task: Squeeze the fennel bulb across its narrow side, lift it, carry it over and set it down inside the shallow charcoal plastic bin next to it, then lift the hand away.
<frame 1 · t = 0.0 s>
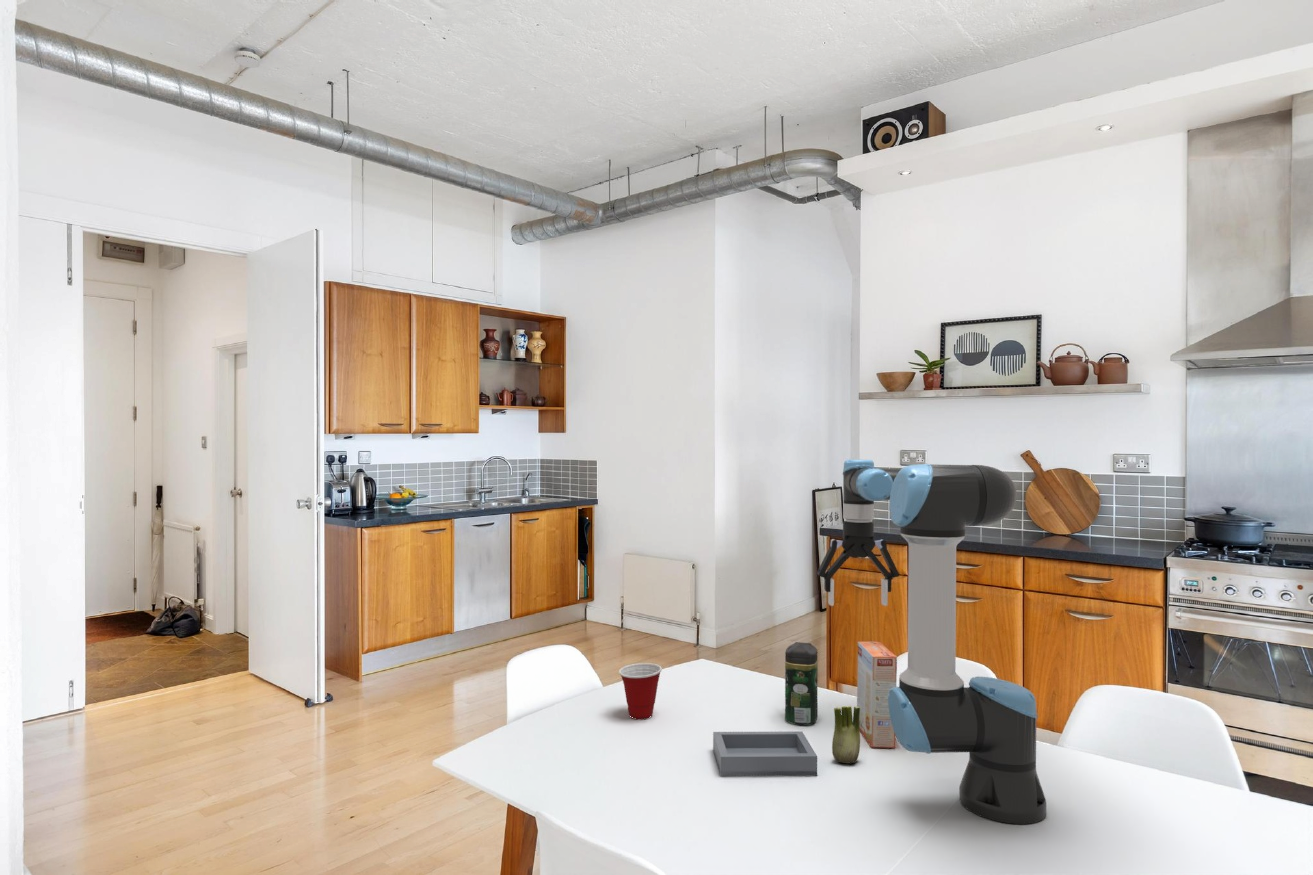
hand: (857, 605, 199), 28 cm above the table, tool pointing down, fingers open, 13 cm apart
bin: (763, 762, 169), on the table
plastic cup: (639, 716, 197), on the table
coffee jar: (800, 720, 196), on the table
cracker box: (875, 738, 184), on the table
fennel bulb: (846, 763, 170), on the table
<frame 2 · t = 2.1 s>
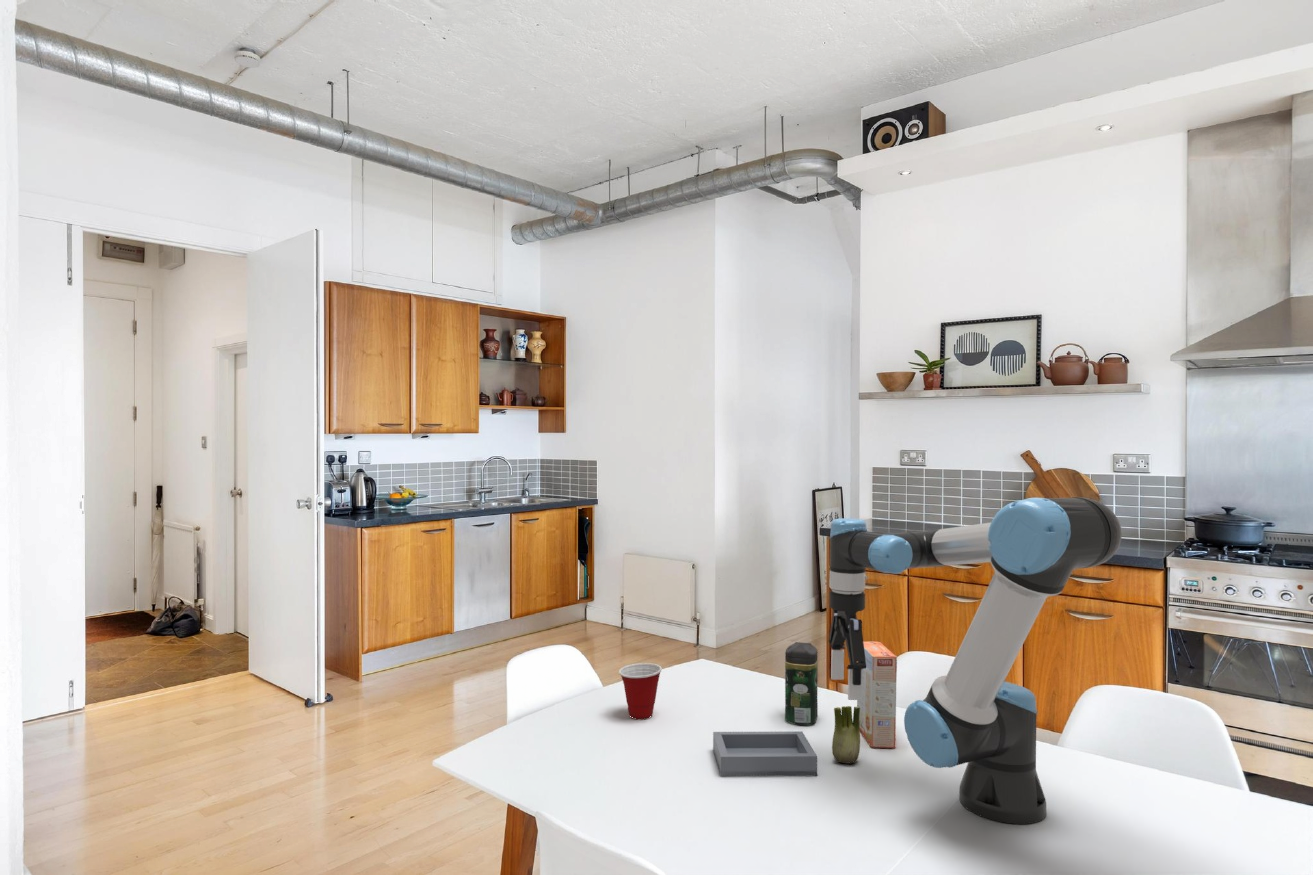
hand: (845, 689, 170), 16 cm above the table, tool pointing down, fingers open, 13 cm apart
nothing on the table moved.
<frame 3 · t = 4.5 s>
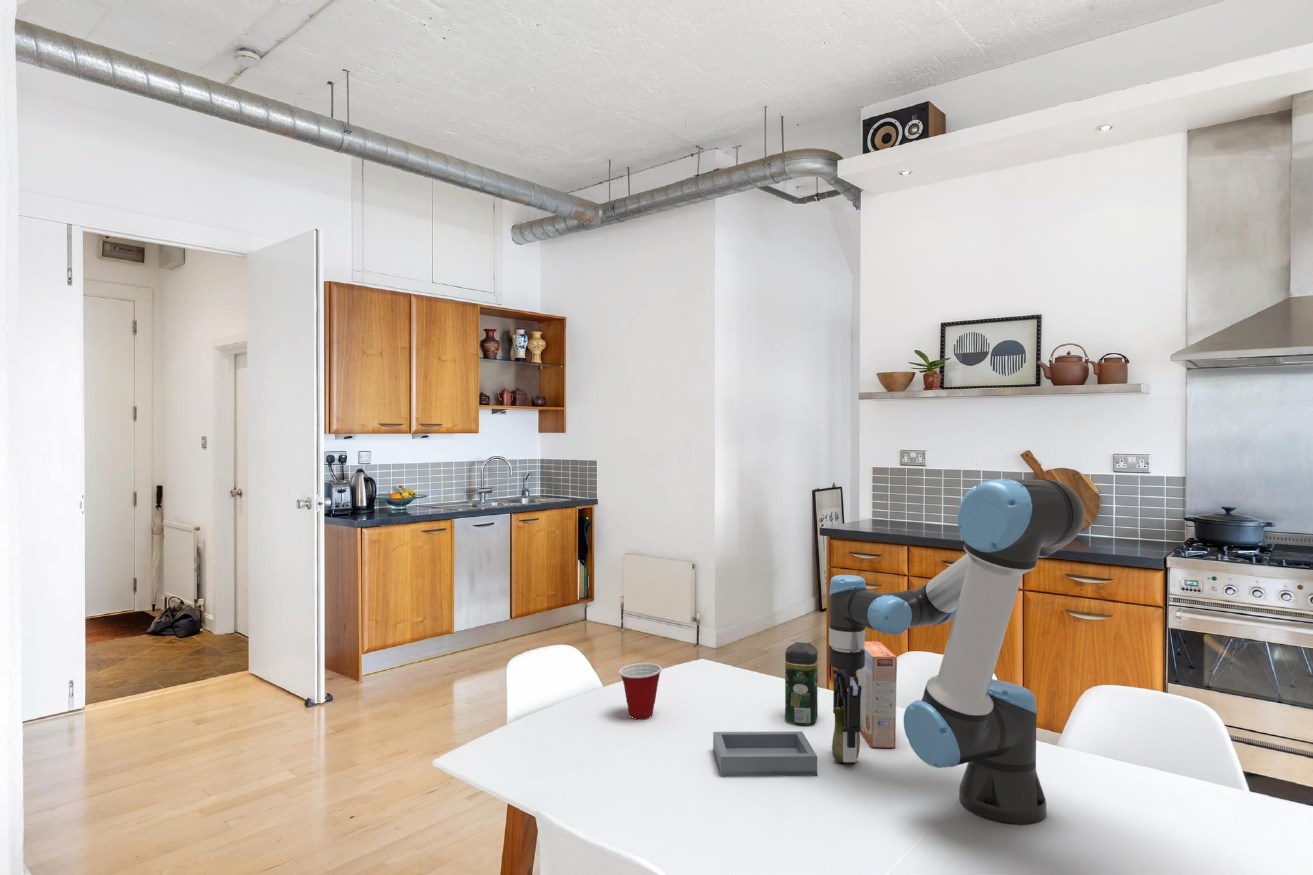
hand: (846, 756, 170), 1 cm above the table, tool pointing down, fingers closed on fennel bulb, 5 cm apart
fennel bulb: (845, 762, 170), on the table, touching gripper
everything else where it was.
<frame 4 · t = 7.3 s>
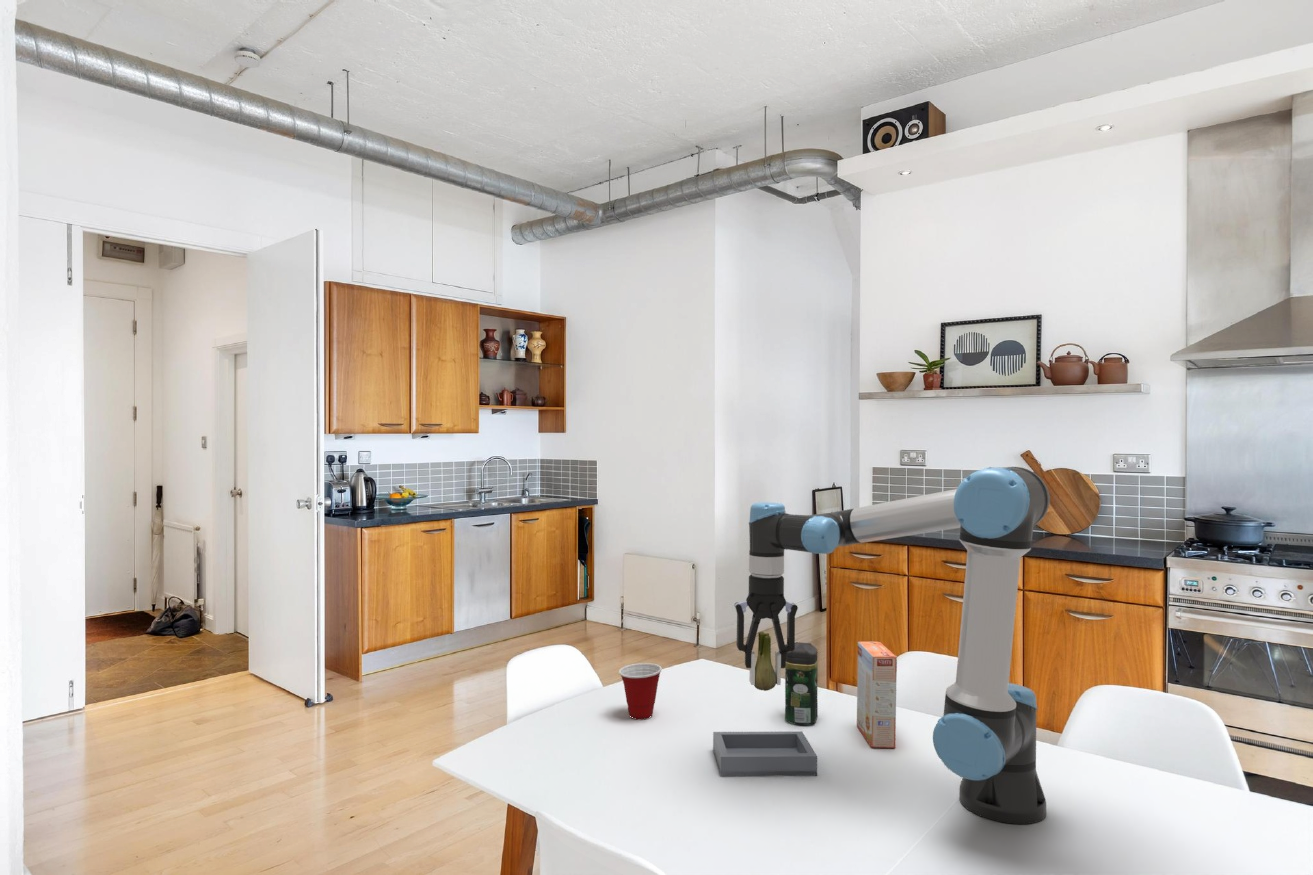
hand: (764, 682, 169), 17 cm above the table, tool pointing down, fingers closed on fennel bulb, 5 cm apart
fennel bulb: (764, 689, 169), point 16 cm above the table, touching gripper
everything else where it was.
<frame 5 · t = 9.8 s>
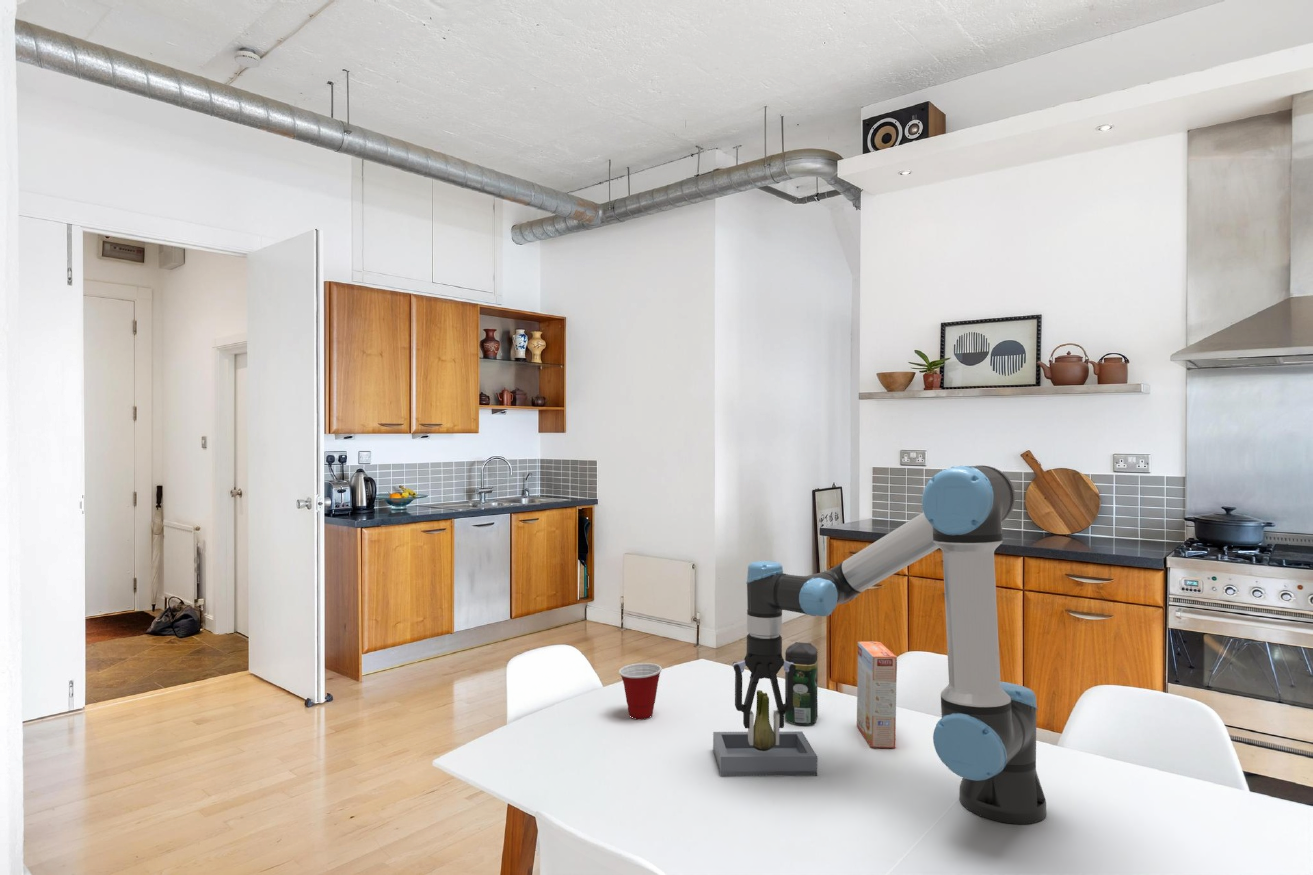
hand: (763, 742, 169), 4 cm above the table, tool pointing down, fingers closed on fennel bulb, 5 cm apart
fennel bulb: (763, 749, 169), point 3 cm above the table, touching gripper
everything else where it was.
when the fingers open (4 cm above the table, at t = 10.4 s): fennel bulb drops 2 cm, resting on bin.
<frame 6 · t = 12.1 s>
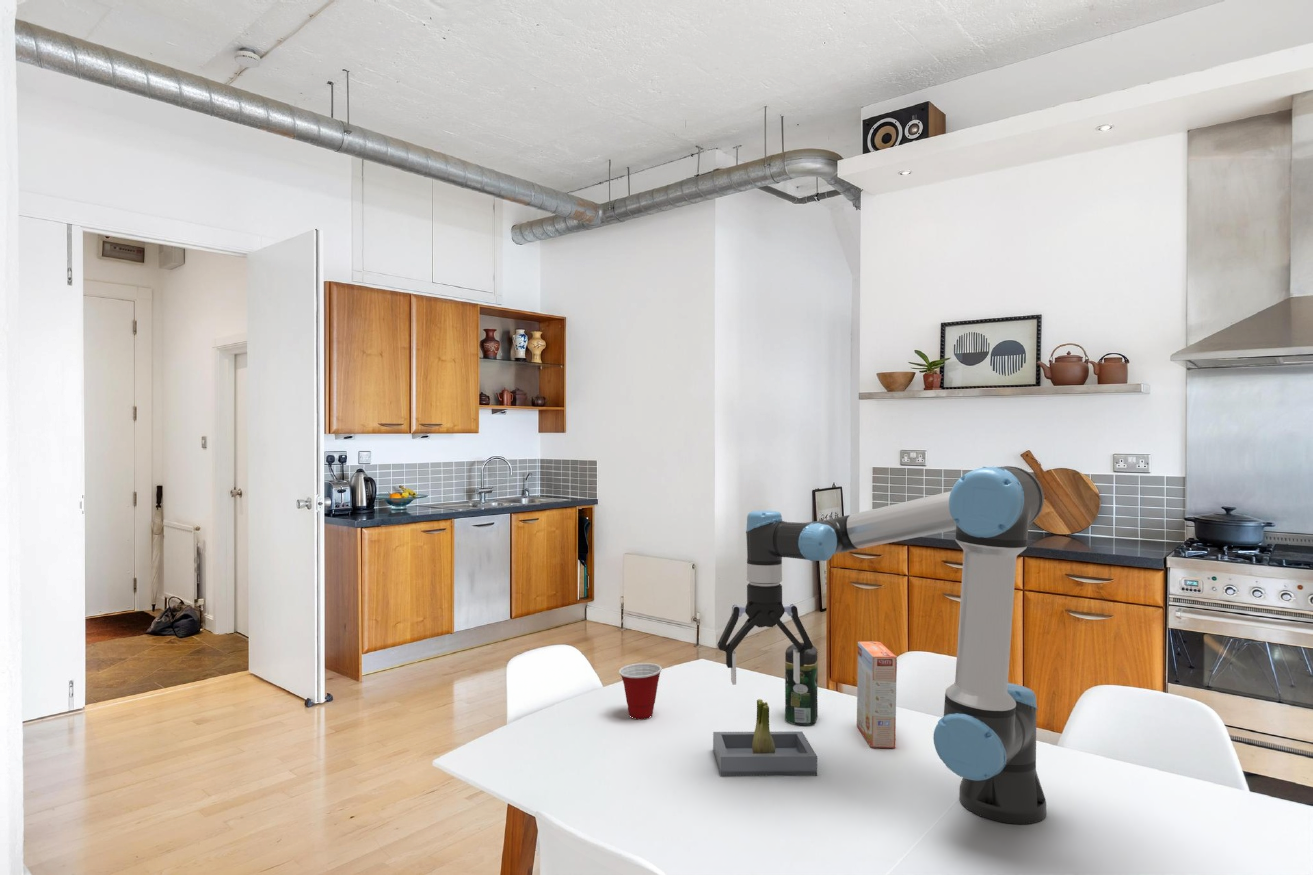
hand: (765, 682, 169), 17 cm above the table, tool pointing down, fingers open, 13 cm apart
fennel bulb: (763, 759, 169), point 1 cm above the table, touching bin
everything else where it was.
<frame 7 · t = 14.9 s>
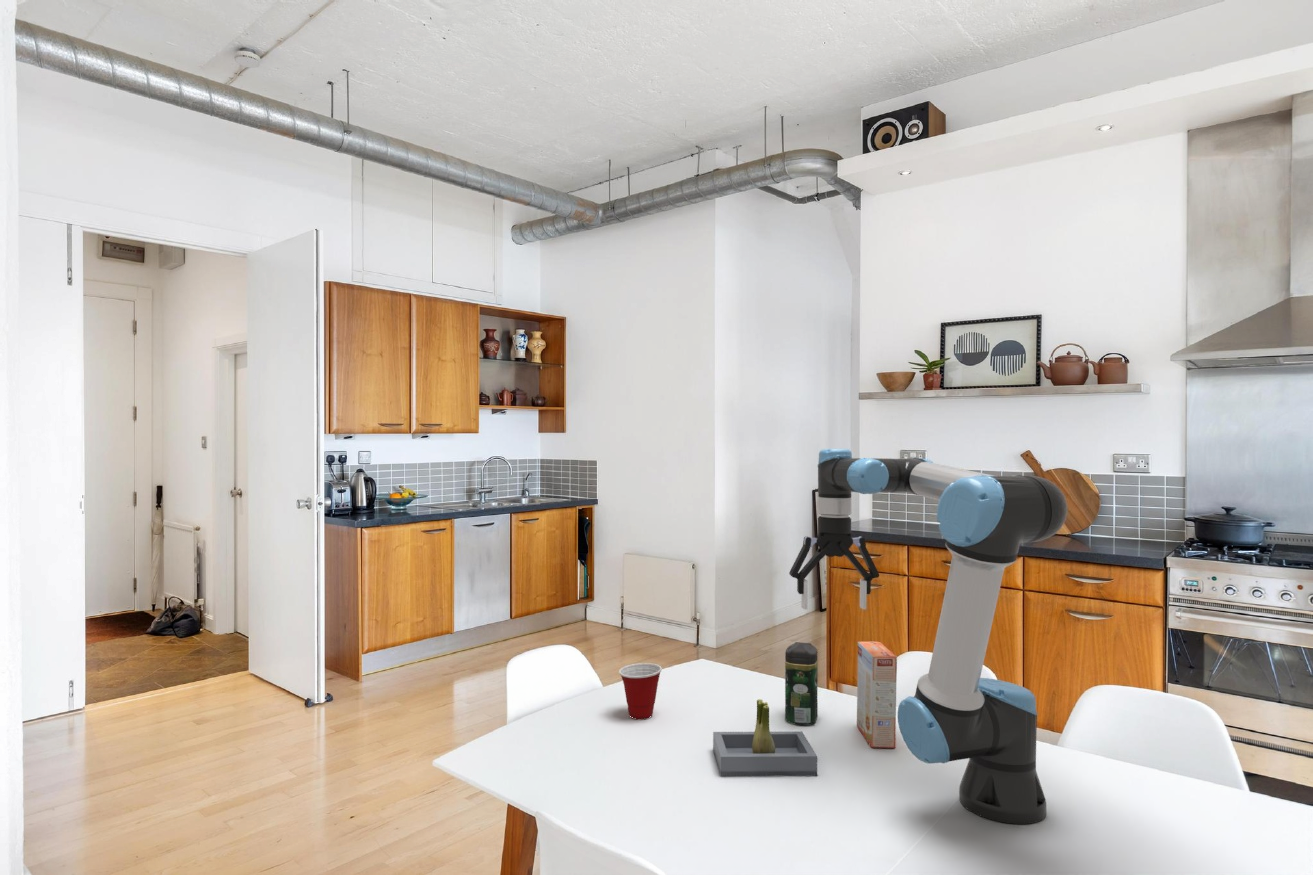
hand: (833, 608, 181), 31 cm above the table, tool pointing down, fingers open, 13 cm apart
nothing on the table moved.
at the end: fennel bulb inside the target area on the bin (0.1 cm from its centre), point 0.8 cm above the bin's base; the gripper is holding nothing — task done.
